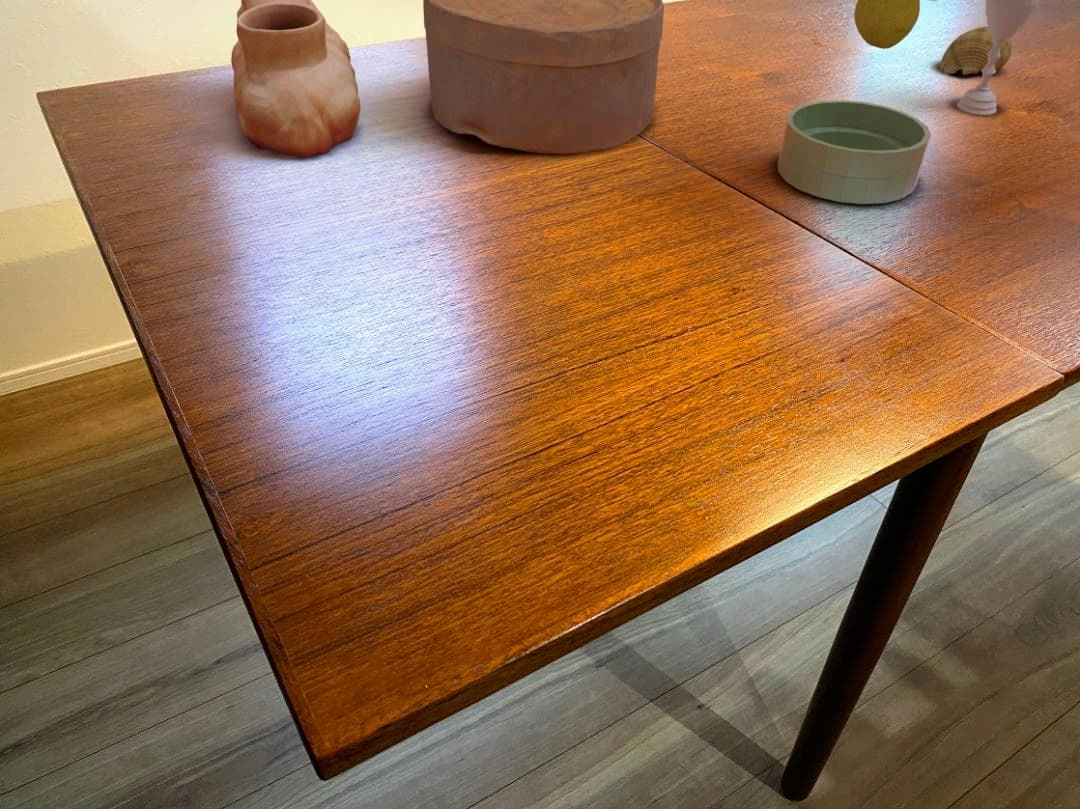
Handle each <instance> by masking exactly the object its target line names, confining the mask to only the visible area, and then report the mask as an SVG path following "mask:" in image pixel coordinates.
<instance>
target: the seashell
mask: <svg viewBox="0 0 1080 809" xmlns="http://www.w3.org/2000/svg"><path fill="white" fill-rule="evenodd" d="M993 45H994V37H992V36H991V35H989V33H988V26H980V27H976V28H973V29H970V30H968V31H966V32H964V33H961V34H960V35H958V36H957V37H956V38H955V39H954V40H953V41H952V42H951V43H950V44H949V45H948V46H947V48H946V50H945V51H944V53H943V54H942V57H941V60H940V62H939V66H938V69H939V71H940V72H942V73H943V74H945V75H947V76H948V75H952V74H955V73H957V72H959V71H960V70H961V73H962V76H967V75H969V74H970V75H973V74H974V75H975V74H978V73H979V72H981V73H982V71H981V69H983V68H984V67H985V66H986V64H987V63H988V56H987V54H988V53H989V52H990V50H991V48H992V47H993ZM1012 48H1013V46H1012V41H1011V38H1007V39H1004V41H1003V43H1002V44H1001V48H1000V55H1001V57H999V58H998V59H997V61H996V63H995V70H996V72H998V71H1000V70H1001V69H1003V68H1004V67H1005V65H1006V64H1007V63H1008V61H1009V60H1010V59H1011V55H1012V50H1013V49H1012Z"/></svg>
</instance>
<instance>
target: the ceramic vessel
mask: <svg viewBox="0 0 1080 809" xmlns="http://www.w3.org/2000/svg"><path fill="white" fill-rule="evenodd" d="M236 17H237V19H236V36H237V42H236V43H235V44H234V45H233V48H232V51H231V56H230V57H231V58H230V63H231V67H232V70H233V91H234V96H233V97H234V98H233V99H234V103H235V106H236V109H237V112H238V120H237V121H238V125H239V127H240V129H241V130H242V132H243V134H244V135H245V137H246V138H247V139H248V141H249V142H250V143H251V145H253V146H254V147H257V148H261V149H263V150H267V151H272V152H278V153H281V154H285V155H288V156H290V157H296V158H314V157H318V156H322V155H323V156H324V155H326V154H329V153H330V152H331V150H332V149H333V148H334V147H336V146H337V145H340V144H343V143H346V142H349V141H351V140H352V139H353V137H354V134H355V131H356V127H357V125H358V122H359V118H360V114H361V101H360V96H359V88H358V82H357V80H356V70H355V68H354V66H353V65H352V62H351V60H352V59H351V54H350V48H349V47H348V45H347V42H346V41H345V40H344V39H342V37H341V36H340V34H339V33H338V32H337V31H336V30H335V29H333V28H332V26H330V25H329V24H328V23H327V21H326V19H325V16H324V15H323V14H322V12H321V11H320V10H319V9H318V7H317V6H316V5H315V3H314V2H313V1H312V0H240V7H239V8H238V10H237V12H236Z"/></svg>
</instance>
